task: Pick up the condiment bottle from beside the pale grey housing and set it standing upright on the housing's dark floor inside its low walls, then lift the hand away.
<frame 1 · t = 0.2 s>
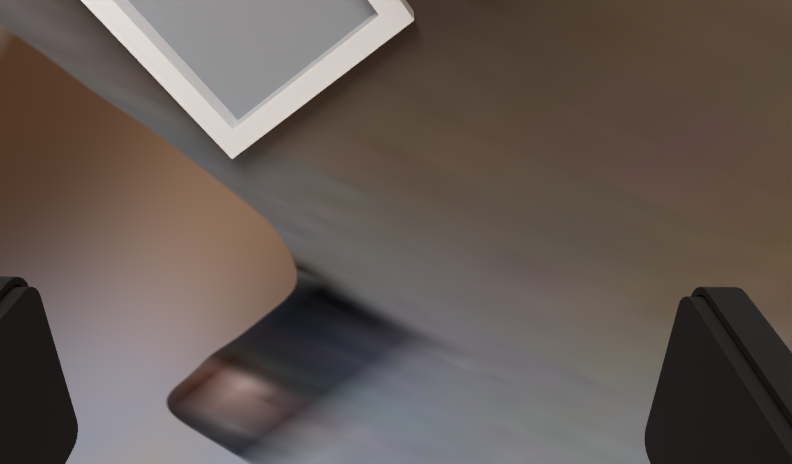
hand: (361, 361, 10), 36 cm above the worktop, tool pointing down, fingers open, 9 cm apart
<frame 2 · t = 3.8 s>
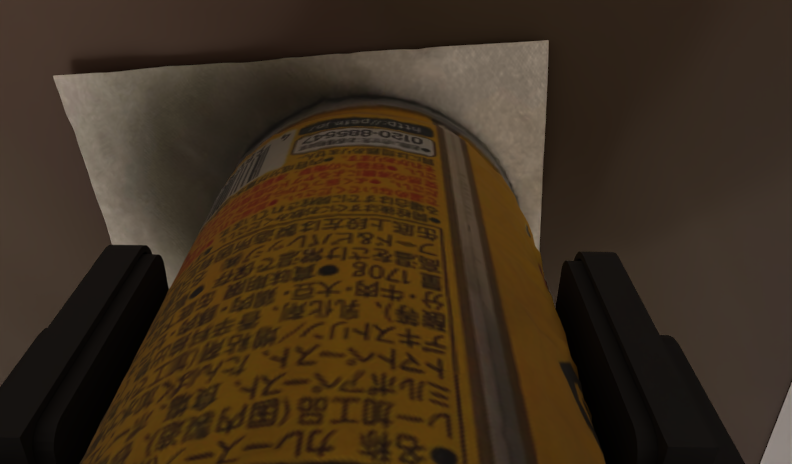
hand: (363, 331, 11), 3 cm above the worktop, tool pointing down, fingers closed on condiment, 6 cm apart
condiment: (326, 231, 14), on the worktop, touching gripper
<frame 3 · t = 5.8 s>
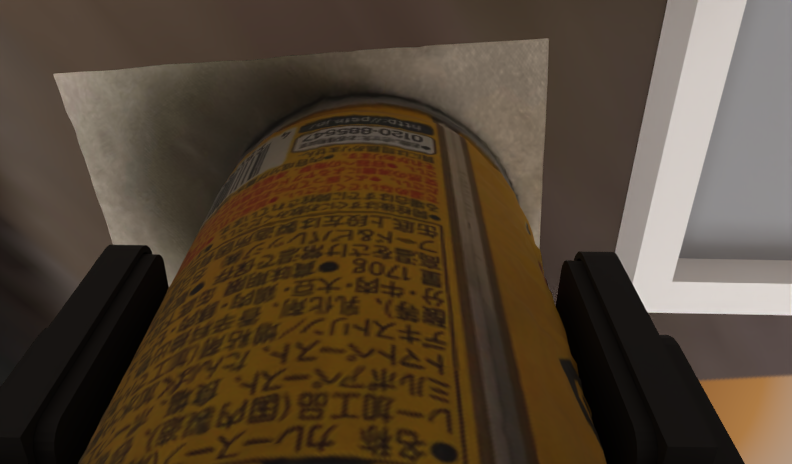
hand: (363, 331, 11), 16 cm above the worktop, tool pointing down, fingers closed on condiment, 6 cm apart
condiment: (326, 229, 14), point 13 cm above the worktop, touching gripper
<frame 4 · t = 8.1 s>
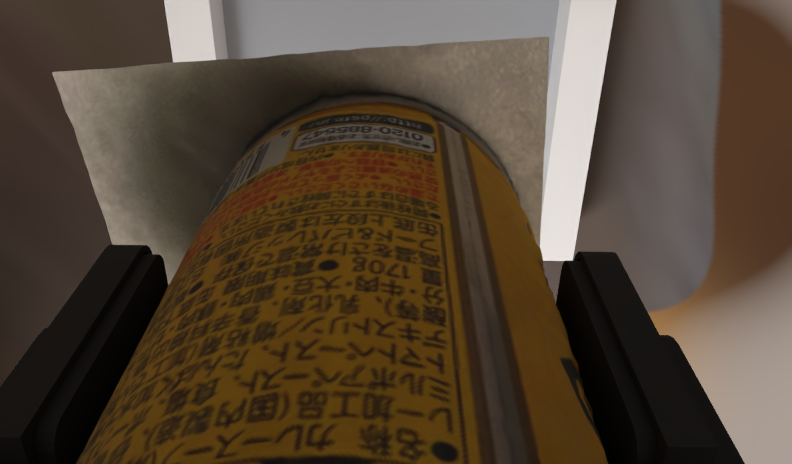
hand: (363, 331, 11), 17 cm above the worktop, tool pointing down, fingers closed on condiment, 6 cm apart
condiment: (326, 228, 14), point 14 cm above the worktop, touching gripper
housing: (390, 43, 26), on the worktop
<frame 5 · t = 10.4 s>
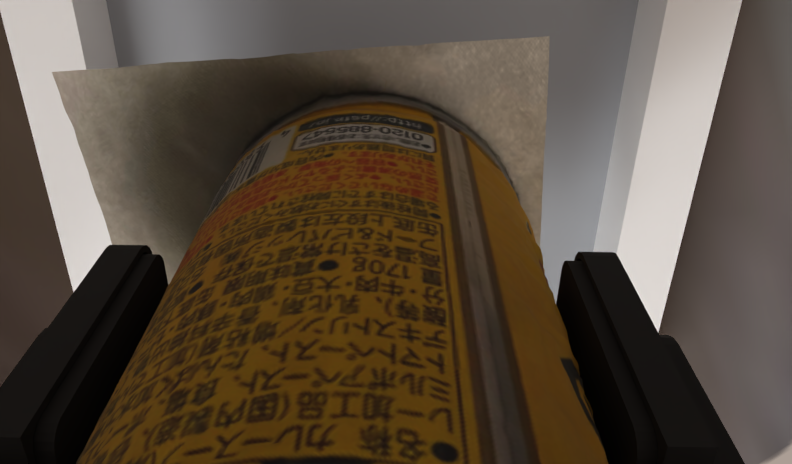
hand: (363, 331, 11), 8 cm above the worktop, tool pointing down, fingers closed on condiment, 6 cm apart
condiment: (326, 228, 14), point 5 cm above the worktop, touching gripper
housing: (373, 142, 18), on the worktop
when the fingers open (4 cm above the worktop, at t = 12.7 s): condiment stays where it is, resting on housing.
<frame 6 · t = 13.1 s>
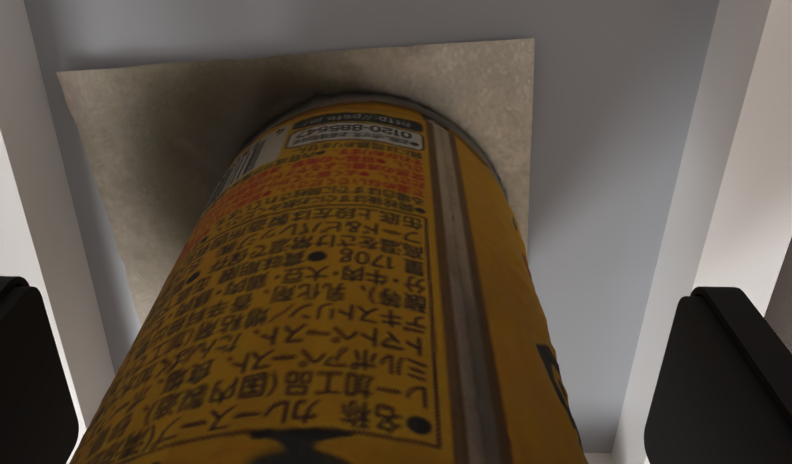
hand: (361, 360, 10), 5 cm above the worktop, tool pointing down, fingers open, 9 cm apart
condiment: (321, 223, 14), point 1 cm above the worktop, touching housing
housing: (372, 204, 15), on the worktop
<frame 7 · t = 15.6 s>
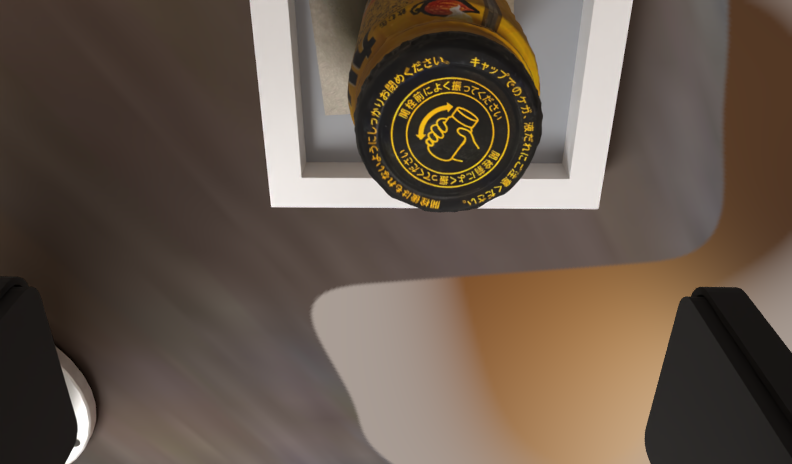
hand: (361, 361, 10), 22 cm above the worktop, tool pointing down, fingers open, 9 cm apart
condiment: (412, 23, 29), point 1 cm above the worktop, touching housing
housing: (437, 17, 30), on the worktop
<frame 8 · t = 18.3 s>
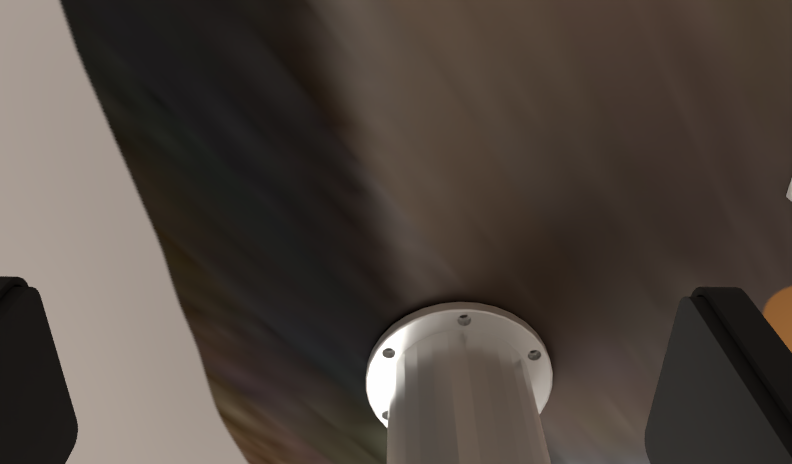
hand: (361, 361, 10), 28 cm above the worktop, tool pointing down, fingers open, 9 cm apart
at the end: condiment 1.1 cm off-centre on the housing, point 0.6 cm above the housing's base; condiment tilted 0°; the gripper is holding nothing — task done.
